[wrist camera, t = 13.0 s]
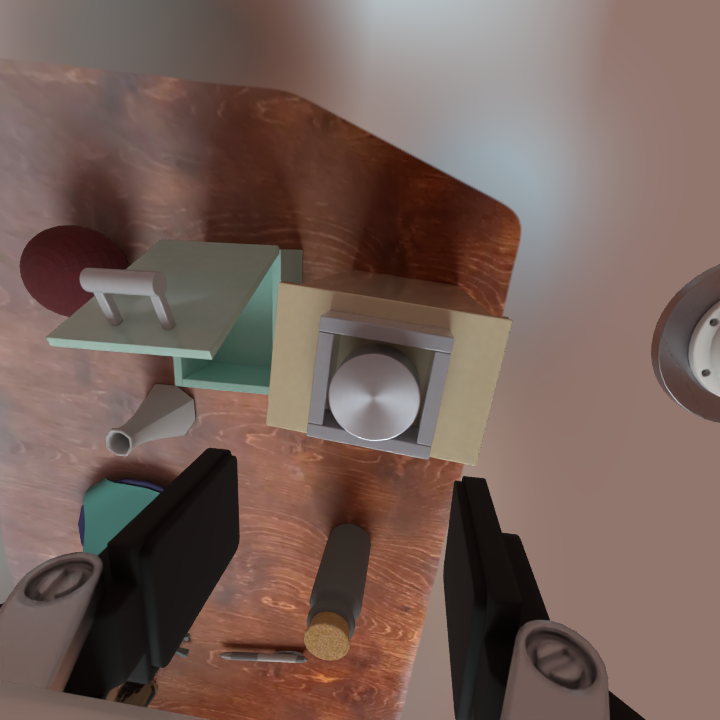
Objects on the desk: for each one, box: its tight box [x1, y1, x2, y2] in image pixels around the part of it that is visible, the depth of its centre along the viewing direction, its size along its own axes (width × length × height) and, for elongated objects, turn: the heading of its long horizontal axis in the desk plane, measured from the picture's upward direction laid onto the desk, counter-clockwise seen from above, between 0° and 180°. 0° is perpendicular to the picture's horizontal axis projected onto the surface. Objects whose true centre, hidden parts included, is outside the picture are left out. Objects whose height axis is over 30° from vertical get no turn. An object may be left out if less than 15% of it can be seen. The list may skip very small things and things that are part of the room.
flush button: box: [328, 344, 420, 441], centre depth 21 cm, size 4×4×2 cm
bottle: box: [304, 524, 371, 660], centre depth 48 cm, size 6×6×15 cm
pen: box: [219, 651, 308, 663], centre depth 62 cm, size 1×14×1 cm, turn 96°
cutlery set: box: [78, 478, 190, 657], centre depth 60 cm, size 20×30×2 cm, turn 168°
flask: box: [105, 384, 195, 456], centre depth 49 cm, size 7×7×10 cm
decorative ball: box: [20, 225, 129, 317], centre depth 45 cm, size 10×10×10 cm
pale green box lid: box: [46, 240, 279, 360], centre depth 32 cm, size 16×12×5 cm
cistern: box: [266, 269, 512, 466], centre depth 34 cm, size 9×13×27 cm
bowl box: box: [173, 248, 303, 395], centre depth 45 cm, size 15×12×8 cm
